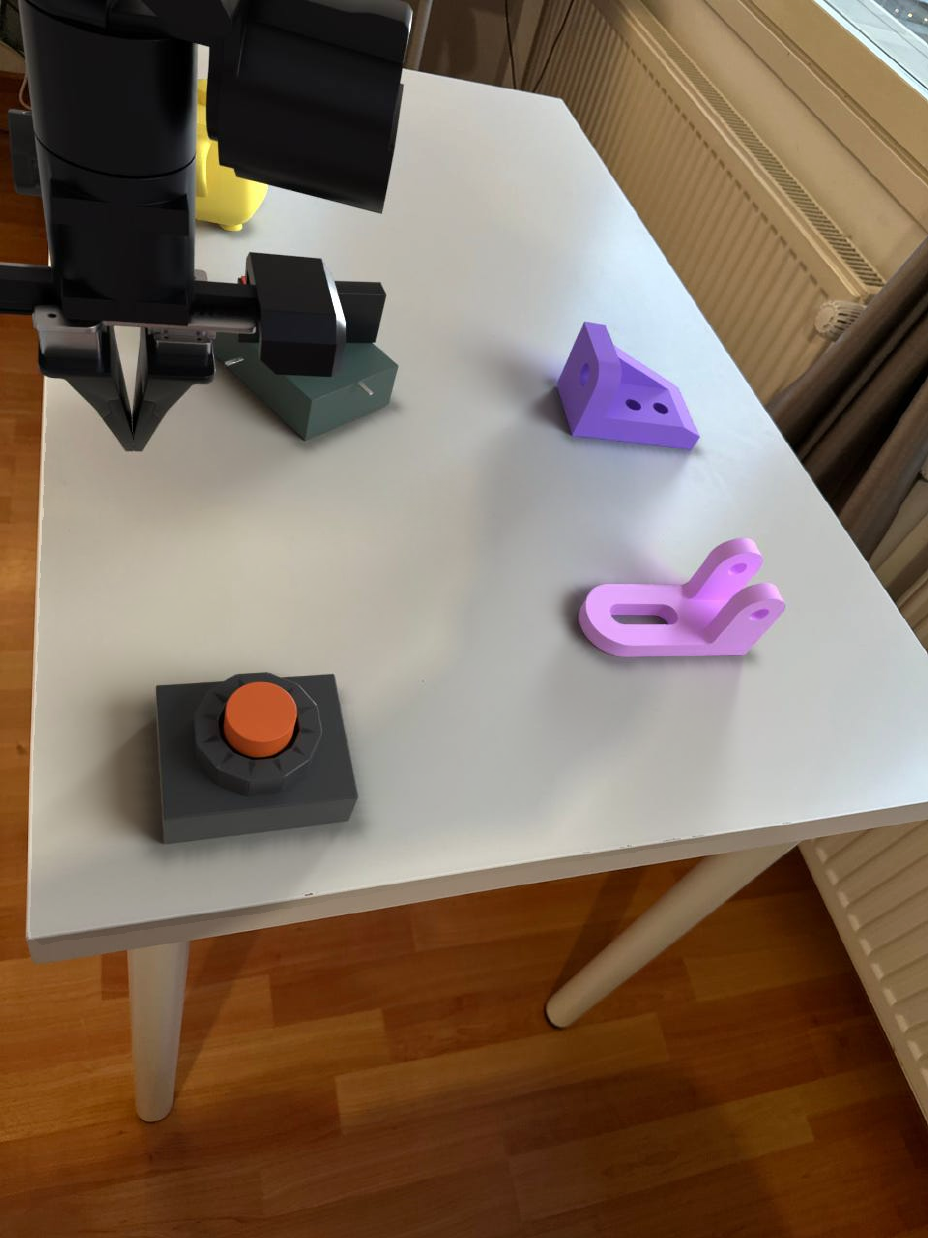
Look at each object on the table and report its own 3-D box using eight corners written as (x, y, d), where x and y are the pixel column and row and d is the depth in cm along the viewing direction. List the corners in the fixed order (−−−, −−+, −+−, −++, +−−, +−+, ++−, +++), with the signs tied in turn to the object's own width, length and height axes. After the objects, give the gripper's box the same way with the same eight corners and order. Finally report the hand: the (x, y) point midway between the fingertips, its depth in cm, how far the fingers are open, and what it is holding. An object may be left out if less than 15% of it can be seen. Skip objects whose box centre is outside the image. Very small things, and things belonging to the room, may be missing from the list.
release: (163, 845, 46) (164, 804, 42) (155, 714, 51) (155, 666, 47) (349, 821, 50) (364, 782, 46) (326, 701, 54) (339, 656, 50)
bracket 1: (572, 435, 77) (602, 372, 72) (556, 384, 81) (584, 321, 75) (692, 449, 80) (729, 390, 75) (671, 399, 84) (705, 340, 79)
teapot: (161, 140, 87) (161, 21, 79) (273, 168, 90) (284, 55, 82) (127, 237, 77) (123, 110, 68) (256, 265, 79) (267, 146, 71)
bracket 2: (718, 596, 69) (764, 538, 64) (744, 655, 66) (795, 599, 61) (570, 594, 65) (606, 532, 60) (590, 657, 62) (630, 597, 57)
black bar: (370, 330, 71) (381, 278, 68) (375, 343, 70) (387, 291, 67) (233, 329, 67) (237, 273, 63) (237, 342, 66) (242, 287, 62)
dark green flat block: (428, 404, 74) (440, 364, 71) (286, 468, 65) (293, 426, 62) (311, 302, 78) (317, 260, 75) (163, 349, 69) (163, 304, 66)
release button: (227, 761, 45) (229, 744, 44) (220, 701, 47) (222, 683, 46) (297, 754, 46) (301, 738, 45) (288, 696, 48) (291, 679, 47)
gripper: (328, 77, 41) (294, 354, 53) (-146, -1, 34) (-62, 336, 46) (373, 209, 35) (323, 489, 47) (-192, 145, 28) (-82, 489, 40)
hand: (133, 445), depth 45 cm, fingers closed
